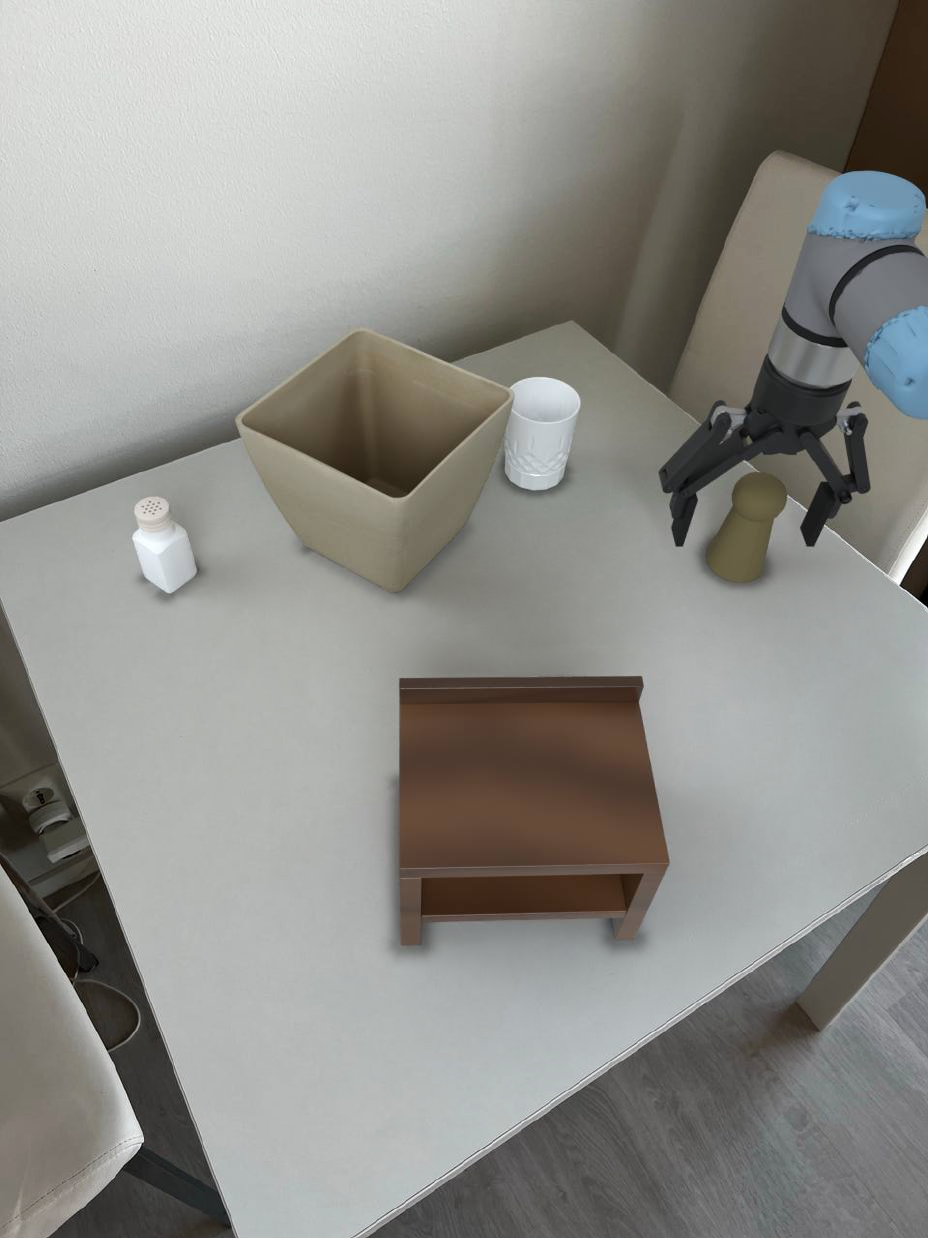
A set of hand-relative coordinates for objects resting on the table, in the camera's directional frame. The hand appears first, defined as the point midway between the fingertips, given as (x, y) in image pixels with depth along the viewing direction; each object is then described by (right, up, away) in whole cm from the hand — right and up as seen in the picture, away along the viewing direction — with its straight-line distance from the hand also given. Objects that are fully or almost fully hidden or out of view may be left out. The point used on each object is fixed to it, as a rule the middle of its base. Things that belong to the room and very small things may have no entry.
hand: (742, 537), depth 97 cm
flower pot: (-37, 0, +3) cm, 37 cm away
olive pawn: (0, -2, +3) cm, 4 cm away
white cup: (-21, +8, +10) cm, 25 cm away
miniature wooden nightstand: (-25, -28, -20) cm, 42 cm away
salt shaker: (-58, -4, -2) cm, 58 cm away
